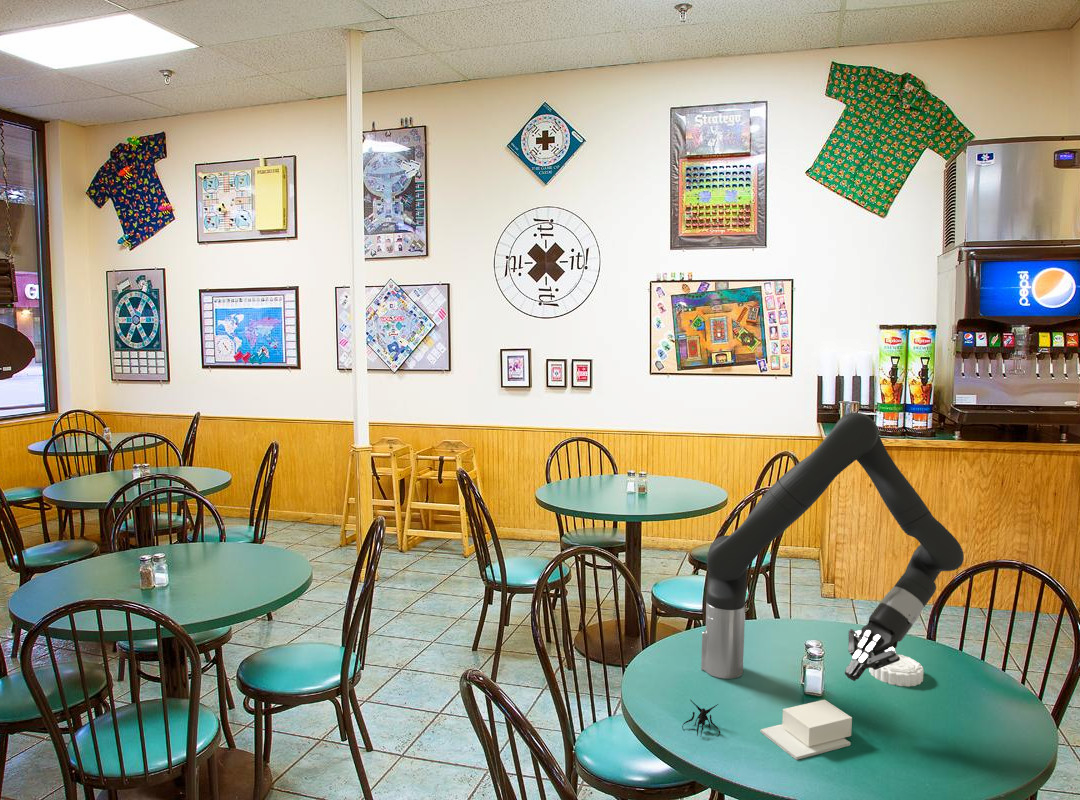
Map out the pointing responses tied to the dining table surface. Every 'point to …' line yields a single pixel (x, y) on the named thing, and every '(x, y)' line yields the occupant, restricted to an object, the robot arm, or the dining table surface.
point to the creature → (702, 718)
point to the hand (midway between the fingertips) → (849, 677)
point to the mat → (799, 743)
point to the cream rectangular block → (816, 722)
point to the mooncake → (900, 672)
